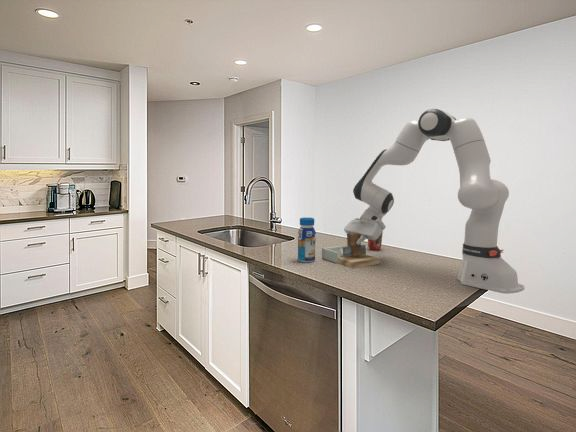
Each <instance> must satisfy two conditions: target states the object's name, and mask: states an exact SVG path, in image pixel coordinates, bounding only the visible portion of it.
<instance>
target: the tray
mask: <svg viewBox="0 0 576 432" xmlns="http://www.w3.org/2000/svg"><path fill="white" fill-rule="evenodd" d="M343 247H348V246H347V244H346V245H339V246H330V247H322V248H321V249H322V250H321V259H323V260H325V261H328V262H331V263H334V264H339V263H338V252H337V251H338V250H339V249H343ZM361 255H362V254H361Z"/></svg>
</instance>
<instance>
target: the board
mask: <svg viewBox="0 0 576 432" xmlns="http://www.w3.org/2000/svg"><path fill="white" fill-rule="evenodd" d="M380 262H381V259H380V257H375V256H373V255H368V254H367V253H366V254H362V255H355V256H348V257H341V258H338V263H337V264H339V265H342V266H345V267H348V268H351V269H357V268H362V267H363V268H364V267H367V266H368V267H370V266H374V265H380Z"/></svg>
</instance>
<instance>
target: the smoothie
mask: <svg viewBox="0 0 576 432" xmlns="http://www.w3.org/2000/svg"><path fill="white" fill-rule="evenodd" d="M383 233H384V230H383V231H382V233H381V235H380V236H379V238H378V239H376V240H370V239H367V247H368V250H370V251H373V252H374V251H375V252H378V251H381V248H382V241H383Z"/></svg>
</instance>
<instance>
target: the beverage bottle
mask: <svg viewBox="0 0 576 432" xmlns="http://www.w3.org/2000/svg"><path fill="white" fill-rule="evenodd" d="M299 226H300V228H299V229H298V231H297V232H298V233H297V234H298V236H297V261H298V262H301V263H313V262H315V261H316V240H317V238H316V234H317V232H316V229H315V228H314V226H315V218H314V217H300V218H299Z"/></svg>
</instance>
